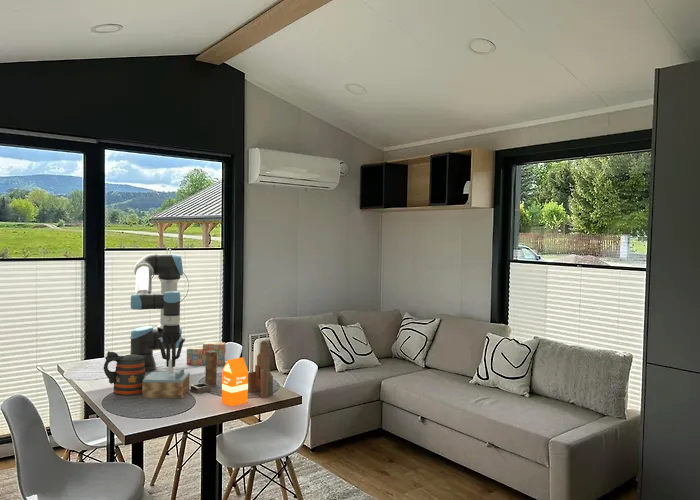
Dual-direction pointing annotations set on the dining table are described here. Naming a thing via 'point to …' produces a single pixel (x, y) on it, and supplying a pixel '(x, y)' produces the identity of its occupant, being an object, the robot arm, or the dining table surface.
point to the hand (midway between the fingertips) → (170, 373)
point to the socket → (200, 388)
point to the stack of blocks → (199, 353)
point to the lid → (167, 377)
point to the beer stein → (126, 373)
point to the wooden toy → (261, 373)
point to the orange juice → (235, 382)
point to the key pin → (211, 368)
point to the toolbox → (165, 389)
